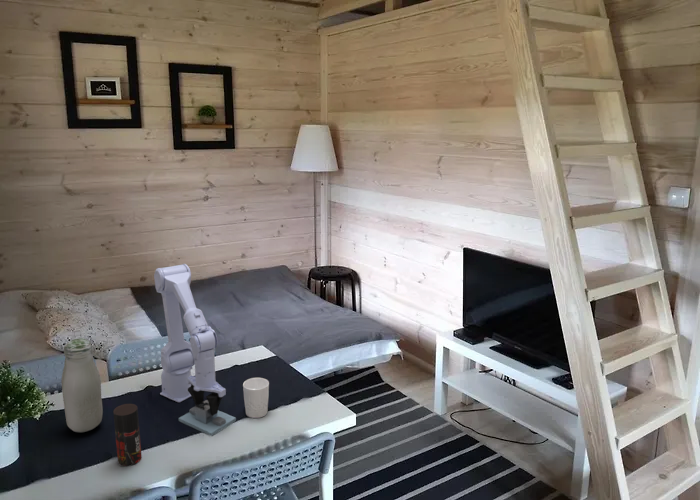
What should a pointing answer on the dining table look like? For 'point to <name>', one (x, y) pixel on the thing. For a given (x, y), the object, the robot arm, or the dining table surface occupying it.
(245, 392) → the white cup
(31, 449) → the dining table surface
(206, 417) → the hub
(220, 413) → the shaft base
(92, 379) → the glass bottle
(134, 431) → the deodorant
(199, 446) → the dining table surface
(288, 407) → the dining table surface
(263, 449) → the dining table surface
